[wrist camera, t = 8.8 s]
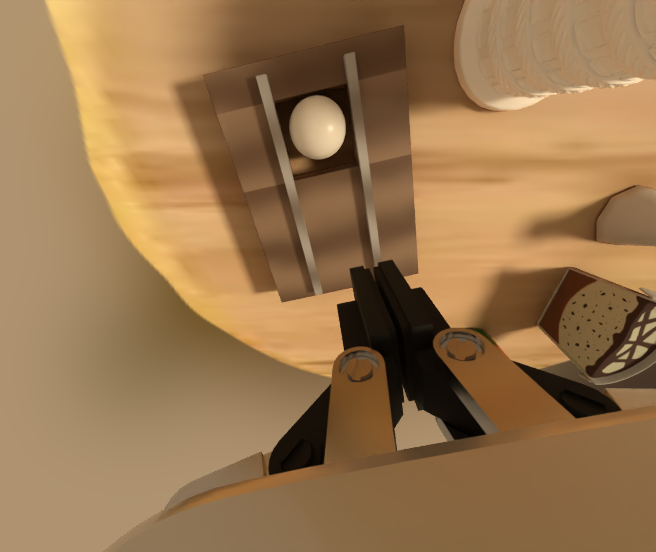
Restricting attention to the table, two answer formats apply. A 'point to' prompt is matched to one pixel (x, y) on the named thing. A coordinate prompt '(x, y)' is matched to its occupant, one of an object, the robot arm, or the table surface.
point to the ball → (317, 127)
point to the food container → (601, 326)
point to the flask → (629, 218)
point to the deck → (330, 184)
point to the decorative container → (551, 48)
